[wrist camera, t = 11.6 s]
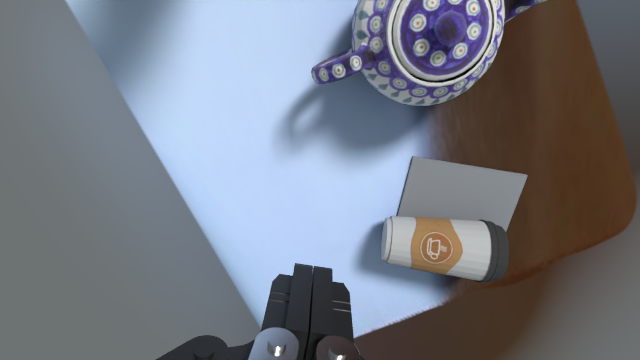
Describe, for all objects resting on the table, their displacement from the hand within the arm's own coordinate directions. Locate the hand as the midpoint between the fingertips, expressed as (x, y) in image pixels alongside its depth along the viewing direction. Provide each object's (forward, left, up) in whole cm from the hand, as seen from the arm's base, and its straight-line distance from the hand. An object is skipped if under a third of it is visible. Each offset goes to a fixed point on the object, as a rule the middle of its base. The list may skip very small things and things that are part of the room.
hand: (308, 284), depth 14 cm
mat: (+21, -10, -35) cm, 42 cm away
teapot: (+9, +12, -35) cm, 38 cm away
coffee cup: (+11, -14, -31) cm, 36 cm away
